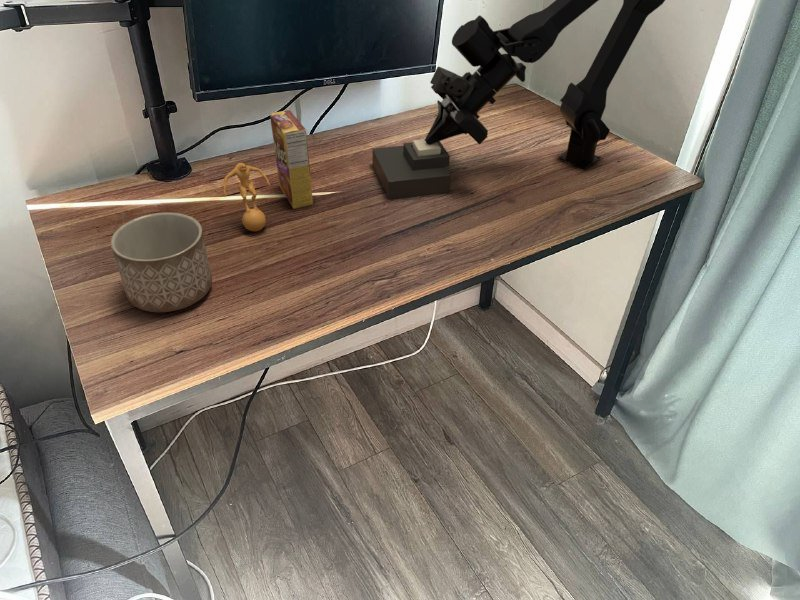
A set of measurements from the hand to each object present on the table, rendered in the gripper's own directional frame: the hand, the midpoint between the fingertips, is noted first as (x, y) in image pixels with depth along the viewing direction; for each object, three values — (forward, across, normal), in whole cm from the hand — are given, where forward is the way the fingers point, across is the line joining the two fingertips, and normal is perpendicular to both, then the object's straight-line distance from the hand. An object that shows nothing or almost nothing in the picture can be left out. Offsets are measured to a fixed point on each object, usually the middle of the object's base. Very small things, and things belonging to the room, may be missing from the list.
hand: (426, 142), depth 127 cm
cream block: (+2, 0, +2) cm, 3 cm away
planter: (+40, +27, -29) cm, 56 cm away
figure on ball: (+30, +11, -19) cm, 37 cm away
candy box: (+24, +2, -13) cm, 27 cm away
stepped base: (+8, 0, +3) cm, 8 cm away
